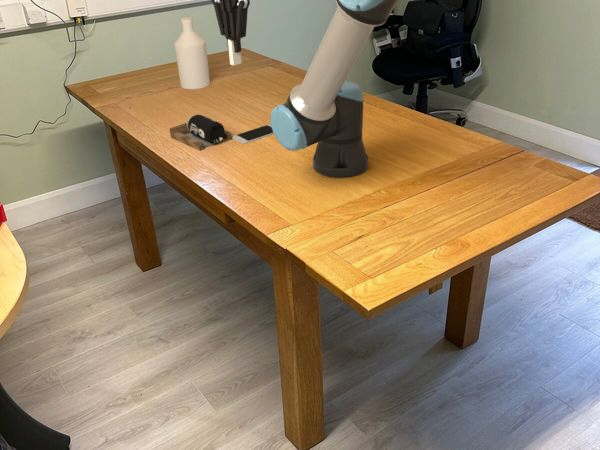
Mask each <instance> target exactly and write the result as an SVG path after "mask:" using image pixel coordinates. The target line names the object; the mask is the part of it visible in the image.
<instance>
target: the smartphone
mask: <svg viewBox="0 0 600 450" xmlns="http://www.w3.org/2000/svg"><path fill="white" fill-rule="evenodd" d="M272 135H274V133H273V130H272V127H271V123H269V124H265V125H262V126H259V127H256V128H253V129H250V130H246V131H243V132H241V133H238V134H235V135H232V139H231V140H234V141H236V142H238V143H240V144H242V145H245V144H249V143H252V142H254V141H258V140H261V139H263V138H267V137H270V136H272Z"/></svg>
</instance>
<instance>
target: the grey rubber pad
mask: <svg viewBox="0 0 600 450" xmlns="http://www.w3.org/2000/svg"><path fill="white" fill-rule="evenodd" d="M186 136H189V137H191V138H193V139H195V140H198V141H200V142H202V143H203V144H204V149H205V148H207V147H209V146H212V145H214V144H212V143H210V142H208V141H205V140H203V139H201V138H199V137H197V136H195V135H193V134H191V133H189V134H186ZM225 140H226V139H225V138H223V139H222V140H221V141H220V142H219V143H221V142H223V141H225Z"/></svg>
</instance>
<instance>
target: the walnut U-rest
mask: <svg viewBox="0 0 600 450" xmlns="http://www.w3.org/2000/svg"><path fill="white" fill-rule="evenodd" d="M169 133H170V139H172V140H173V139H174V140H175V141H178V142H180V143H182V144H185V145H187V146H189V147H191V148H193V149H195V150H197V151H203V150H205V148H204V144H203V143H202V142H200V141H198V140H195V139H193V138H191V137H189V136H186V134H189V133H191V132H190V131H189V130H188V128H187V122H185V123H182V124H179V125H176V126H173V127H169ZM232 136H233V135H232V132H230V131H228V130H225V133H224V137H223V138H225V140H227V141H230V140H233V139H232Z"/></svg>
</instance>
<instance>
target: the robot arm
mask: <svg viewBox="0 0 600 450" xmlns="http://www.w3.org/2000/svg"><path fill="white" fill-rule="evenodd" d="M210 1H211V3H212V5H213V8H214V12H215V16H216V20H217V23H218V29H219V32H220V35H221V36H224V37H225V39H226V44H227V50H228V55H229V57H228V58H229V64H230V66H237V65H241V64H242V63H243V62H242V53H241V52H242V43H241V40H242V38H246V37H247V27H248V26H247V25H248V12H249V10H248V9H249V7H250V4H251V2H250V1H251V0H210ZM334 1H335V3H336V6H337V8H336V9H335V12H334V14H333V16H332V18H331V20H330V22H329V24H328V27H327V29H326V31H325V33H324V35H323V37H322V40H321V41H320V43H319V46H318V48H317V50H316V52H315V55H314V56H313V59H312V61H311V63H310V65H309V67H308V70H307V71H306V74H305V76H304V78H303V79H302V82H301V83H300V84H297V85H295V86H294V87H293V88H291V90H290V93H289V94H288V97H287V99H286V101H285V102H284V103H283V104H278V105H277V106H275V107H274V108H272V111H271V113H270V121H269V122H270V124H271V127H272V130H273V133H274V134H273V135H274V137H275V139H276V140H277V141H278V142H279V144H280V145H281V147H283V148H284V149H285V150H288V151H293V152H296V151H299V150H304V149H306V148H308V147H310V146H313V145H314V144H316V147H315V152H314V154H313V157H312V168H313V170H315V172H316V173H318V174H321V175H322V176H326V177H331V178H348V177H349V178H350V177H351V178H352V177H356V176H358V175H361V174H363V173H364V172H366V171H367V170H368V168H369V156H368V154H367V152H366V147H365V143H364V141H363V125H364V124H363V123H364V120H363V119H364V103H365V102H364V101H365V100H364V90H363V88H362V87H361V85H359V84H357V83H355V82H352V81H347V78H348V76H349V74H350V72H351V71H352V69H353V67H354V65H355V63H356V61H357V60H358V58H359V56H360V55H361V53H362V51H363V49H364V47H365V45H366V44H367V42H368V40H369V38H370V36H371V34H372V32H373V30H374V28H375V27H379V26H382V25H384V24H385V23H386V22H387V21H388V19H389V17H390V15H391V13H392V11H393V10H394V9H395V6H396V5H397V3H399V2H401V1H403V0H334Z"/></svg>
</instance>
